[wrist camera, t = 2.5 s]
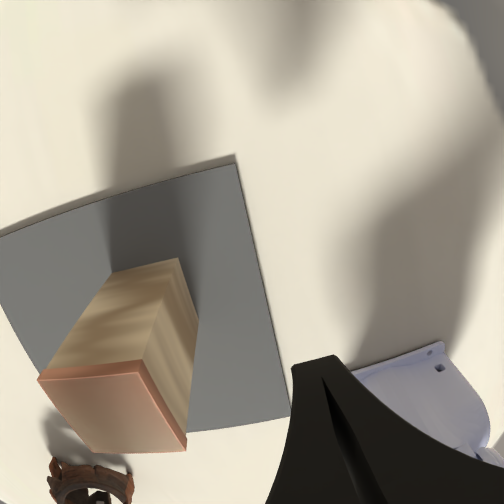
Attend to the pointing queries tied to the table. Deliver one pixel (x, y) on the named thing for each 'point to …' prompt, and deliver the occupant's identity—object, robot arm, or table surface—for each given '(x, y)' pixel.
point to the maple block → (129, 363)
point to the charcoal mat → (147, 252)
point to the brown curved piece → (88, 484)
